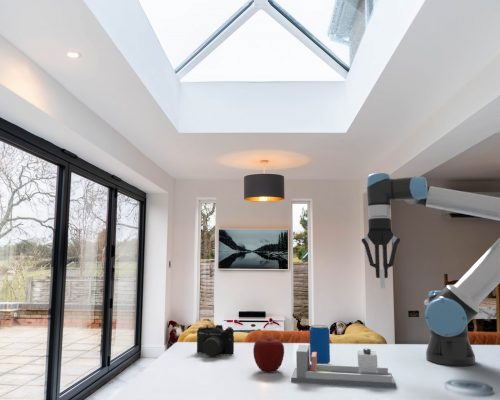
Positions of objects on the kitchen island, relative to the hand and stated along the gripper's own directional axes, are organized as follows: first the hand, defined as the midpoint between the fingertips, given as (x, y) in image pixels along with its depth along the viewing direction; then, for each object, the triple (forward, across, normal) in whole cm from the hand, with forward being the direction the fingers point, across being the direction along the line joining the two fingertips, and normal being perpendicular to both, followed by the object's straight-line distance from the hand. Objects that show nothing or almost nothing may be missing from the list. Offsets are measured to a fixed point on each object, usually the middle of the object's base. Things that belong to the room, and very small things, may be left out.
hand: (382, 287), depth 147 cm
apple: (+25, +36, +18) cm, 47 cm away
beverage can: (+25, +21, +5) cm, 33 cm away
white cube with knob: (+23, +7, +23) cm, 33 cm away
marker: (+23, +22, +23) cm, 39 cm away
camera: (+25, +59, -1) cm, 64 cm away
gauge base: (+24, +14, +23) cm, 36 cm away
